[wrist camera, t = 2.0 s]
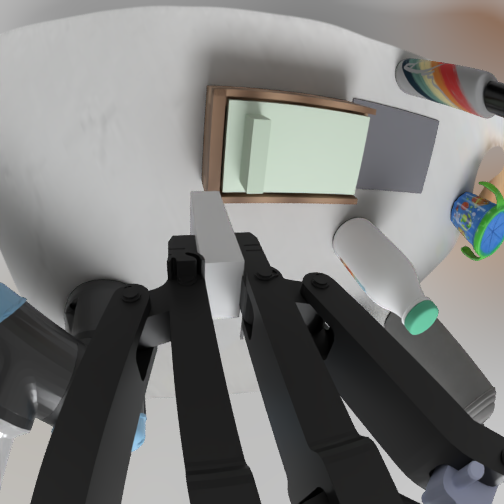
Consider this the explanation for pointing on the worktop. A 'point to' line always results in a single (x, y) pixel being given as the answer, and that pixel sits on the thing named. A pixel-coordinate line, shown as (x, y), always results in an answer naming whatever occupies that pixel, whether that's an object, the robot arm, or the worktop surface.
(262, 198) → the walnut box
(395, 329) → the canister
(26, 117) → the worktop surface
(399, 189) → the mat
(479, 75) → the lotion bottle
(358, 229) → the milk bottle
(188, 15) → the worktop surface
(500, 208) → the snack cup
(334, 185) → the lid
